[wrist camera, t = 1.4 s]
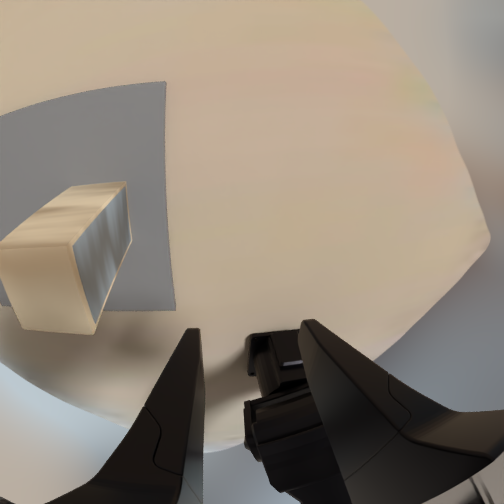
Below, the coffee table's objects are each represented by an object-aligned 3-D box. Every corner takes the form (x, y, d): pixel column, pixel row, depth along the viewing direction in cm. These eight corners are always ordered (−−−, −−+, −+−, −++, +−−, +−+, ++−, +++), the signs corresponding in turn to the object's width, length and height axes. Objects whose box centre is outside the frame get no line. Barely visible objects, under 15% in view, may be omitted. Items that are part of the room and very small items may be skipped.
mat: (175, 306, 24) (175, 310, 23) (4, 302, 20) (1, 305, 20) (166, 82, 15) (165, 81, 15) (-35, 132, 12) (-39, 133, 11)
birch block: (133, 240, 20) (94, 335, 11) (80, 242, 19) (22, 329, 10) (126, 181, 17) (67, 246, 9) (71, 186, 17) (-9, 250, 8)
